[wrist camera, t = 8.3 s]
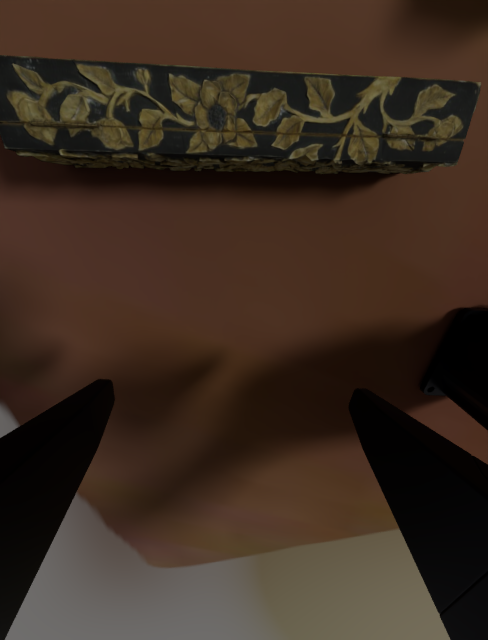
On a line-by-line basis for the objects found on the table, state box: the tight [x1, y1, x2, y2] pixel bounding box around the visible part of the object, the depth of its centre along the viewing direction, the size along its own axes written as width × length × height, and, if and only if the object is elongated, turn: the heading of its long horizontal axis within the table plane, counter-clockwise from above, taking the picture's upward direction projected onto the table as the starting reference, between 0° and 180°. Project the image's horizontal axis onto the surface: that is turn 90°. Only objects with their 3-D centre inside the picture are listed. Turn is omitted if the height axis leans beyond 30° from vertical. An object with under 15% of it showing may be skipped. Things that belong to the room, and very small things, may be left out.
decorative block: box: [0, 55, 481, 174], centre depth 9 cm, size 15×2×4 cm, turn 89°
